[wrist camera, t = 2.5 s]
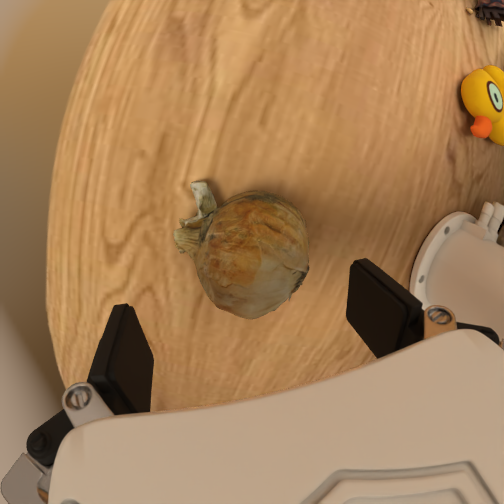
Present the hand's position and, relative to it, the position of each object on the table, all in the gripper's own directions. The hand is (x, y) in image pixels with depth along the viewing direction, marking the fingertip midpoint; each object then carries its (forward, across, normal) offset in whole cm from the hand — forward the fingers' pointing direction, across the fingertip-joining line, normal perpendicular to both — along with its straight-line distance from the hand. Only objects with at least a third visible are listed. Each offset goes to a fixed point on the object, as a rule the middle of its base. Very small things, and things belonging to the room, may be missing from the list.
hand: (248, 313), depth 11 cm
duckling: (+6, -33, -10) cm, 35 cm away
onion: (+5, -5, 0) cm, 7 cm away
